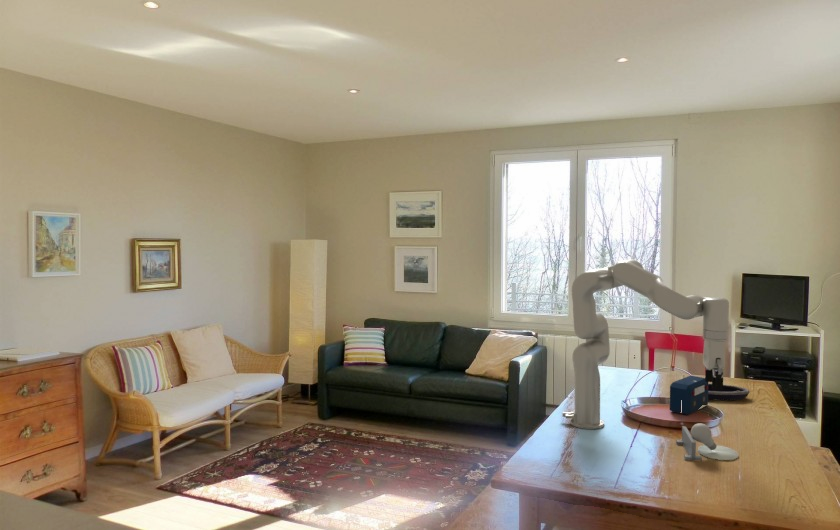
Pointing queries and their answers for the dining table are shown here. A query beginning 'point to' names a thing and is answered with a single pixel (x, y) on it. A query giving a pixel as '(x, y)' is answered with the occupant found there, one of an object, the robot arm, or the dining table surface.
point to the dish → (727, 393)
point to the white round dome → (718, 452)
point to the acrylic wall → (688, 445)
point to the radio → (688, 394)
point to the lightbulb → (703, 435)
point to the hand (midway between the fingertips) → (713, 385)
